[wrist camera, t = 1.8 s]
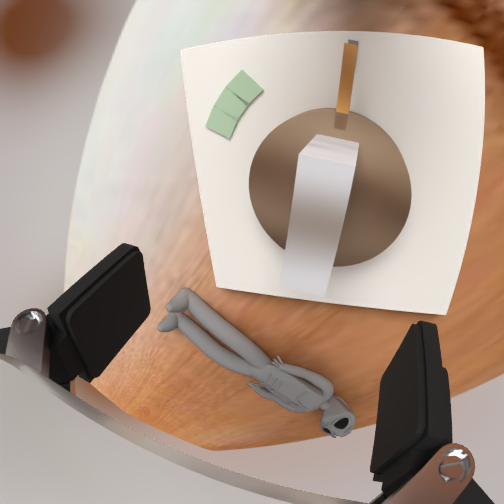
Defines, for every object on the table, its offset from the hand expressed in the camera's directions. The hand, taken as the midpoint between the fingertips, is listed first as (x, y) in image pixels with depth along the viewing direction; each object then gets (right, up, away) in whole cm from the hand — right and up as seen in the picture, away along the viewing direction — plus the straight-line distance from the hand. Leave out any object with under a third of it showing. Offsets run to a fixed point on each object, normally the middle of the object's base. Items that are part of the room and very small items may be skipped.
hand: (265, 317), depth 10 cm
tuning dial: (+5, +8, +9) cm, 13 cm away
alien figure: (+2, -10, +24) cm, 26 cm away
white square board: (+5, +7, +11) cm, 14 cm away
